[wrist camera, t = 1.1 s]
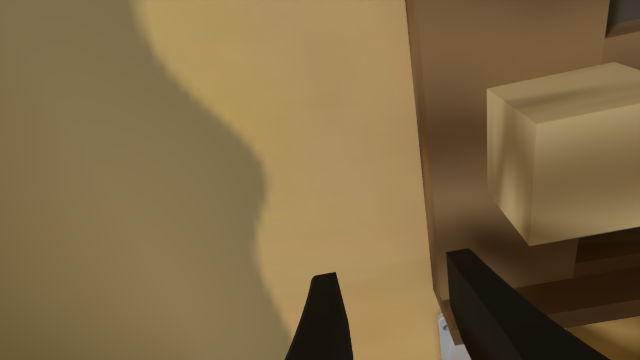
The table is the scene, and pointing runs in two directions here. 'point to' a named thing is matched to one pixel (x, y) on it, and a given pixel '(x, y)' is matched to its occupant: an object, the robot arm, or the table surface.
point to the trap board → (471, 145)
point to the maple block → (566, 152)
